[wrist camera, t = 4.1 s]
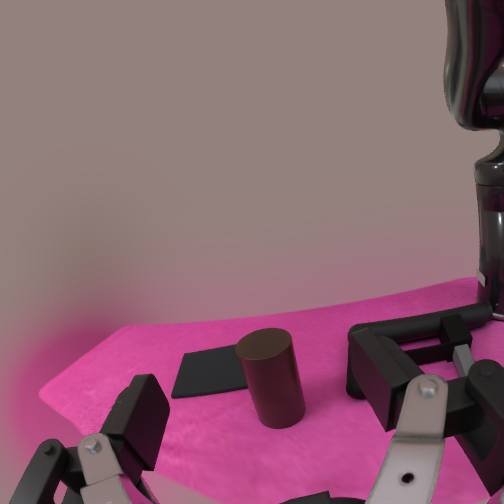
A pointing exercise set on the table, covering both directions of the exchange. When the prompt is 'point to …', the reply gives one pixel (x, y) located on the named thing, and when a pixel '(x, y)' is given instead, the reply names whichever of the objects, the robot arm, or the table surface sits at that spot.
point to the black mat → (209, 373)
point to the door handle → (428, 325)
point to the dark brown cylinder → (272, 376)
